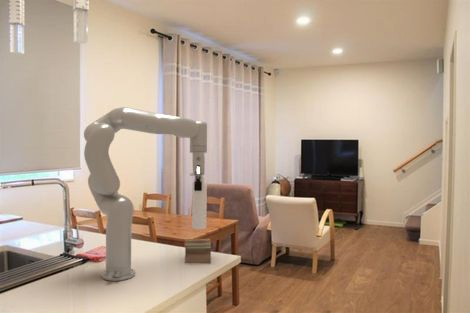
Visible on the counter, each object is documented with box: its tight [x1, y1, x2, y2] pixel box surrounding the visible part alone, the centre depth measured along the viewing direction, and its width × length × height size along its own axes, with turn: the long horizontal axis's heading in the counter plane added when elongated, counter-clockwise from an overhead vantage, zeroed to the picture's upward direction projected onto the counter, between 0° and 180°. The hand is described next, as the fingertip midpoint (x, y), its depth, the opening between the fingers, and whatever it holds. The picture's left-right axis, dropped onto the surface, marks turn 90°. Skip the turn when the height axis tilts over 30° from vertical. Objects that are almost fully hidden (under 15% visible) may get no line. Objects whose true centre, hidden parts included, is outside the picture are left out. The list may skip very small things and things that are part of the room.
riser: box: [184, 238, 212, 264], centre depth 172 cm, size 11×11×8 cm
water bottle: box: [189, 172, 208, 231], centre depth 170 cm, size 9×6×25 cm
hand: (197, 189), depth 170 cm, fingers closed on water bottle, 6 cm apart
